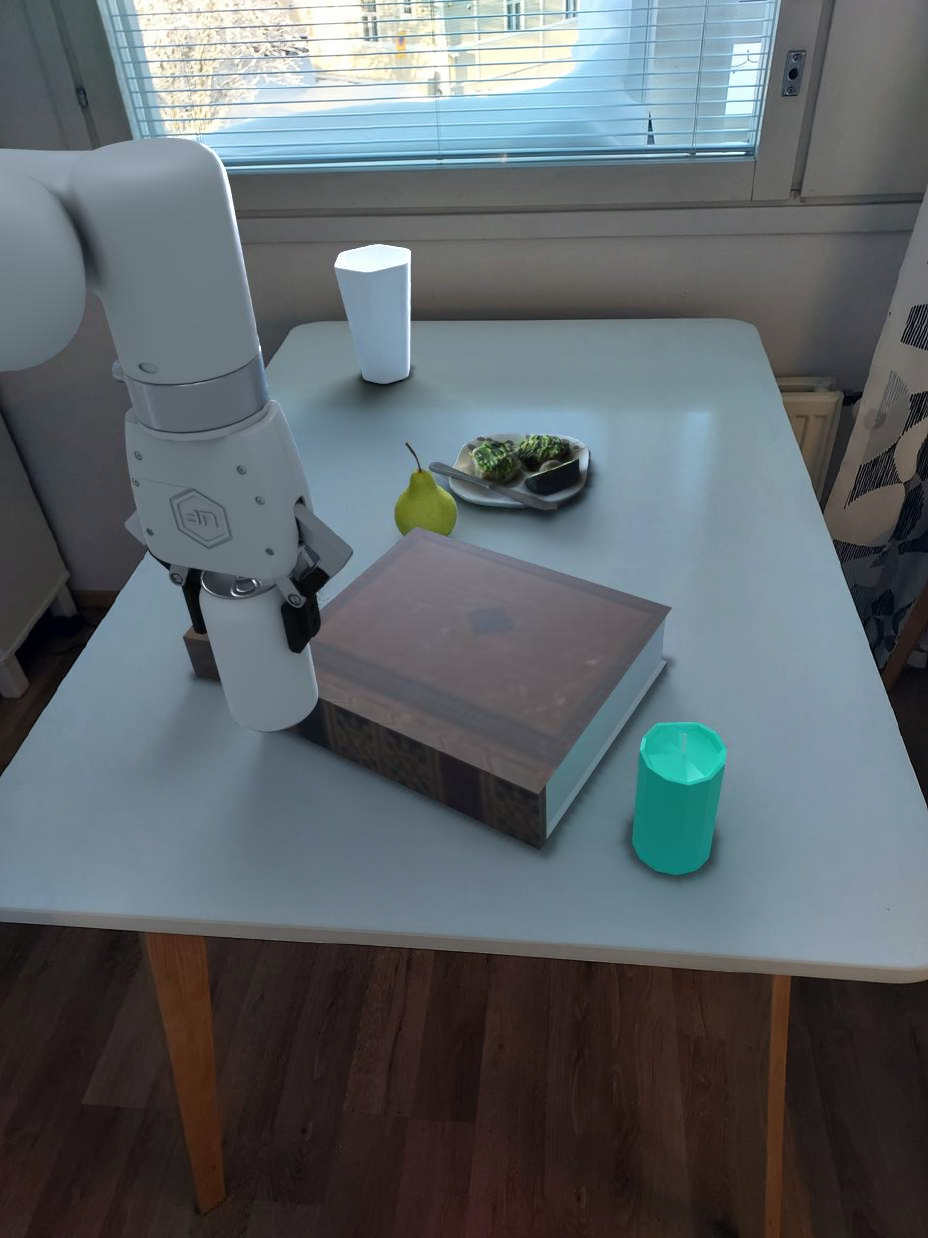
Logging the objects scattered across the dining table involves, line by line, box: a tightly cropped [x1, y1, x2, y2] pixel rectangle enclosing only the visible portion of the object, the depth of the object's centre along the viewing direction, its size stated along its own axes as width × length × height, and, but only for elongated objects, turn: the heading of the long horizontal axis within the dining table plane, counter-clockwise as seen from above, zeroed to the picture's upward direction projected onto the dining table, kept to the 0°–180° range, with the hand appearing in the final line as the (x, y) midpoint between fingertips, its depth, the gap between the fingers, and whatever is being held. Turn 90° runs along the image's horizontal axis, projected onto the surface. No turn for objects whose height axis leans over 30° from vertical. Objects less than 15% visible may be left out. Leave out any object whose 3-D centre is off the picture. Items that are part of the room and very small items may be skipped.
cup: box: [333, 244, 412, 385], centre depth 134 cm, size 11×10×17 cm
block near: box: [182, 624, 221, 681], centre depth 89 cm, size 5×5×5 cm
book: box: [285, 527, 673, 850], centre depth 83 cm, size 24×28×6 cm
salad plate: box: [427, 432, 592, 512], centre depth 112 cm, size 19×18×5 cm
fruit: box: [393, 441, 458, 537], centre depth 101 cm, size 7×7×12 cm
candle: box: [631, 721, 728, 876], centre depth 67 cm, size 6×6×12 cm
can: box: [199, 570, 318, 734], centre depth 64 cm, size 6×6×12 cm
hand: (257, 629), depth 63 cm, fingers closed on can, 6 cm apart
